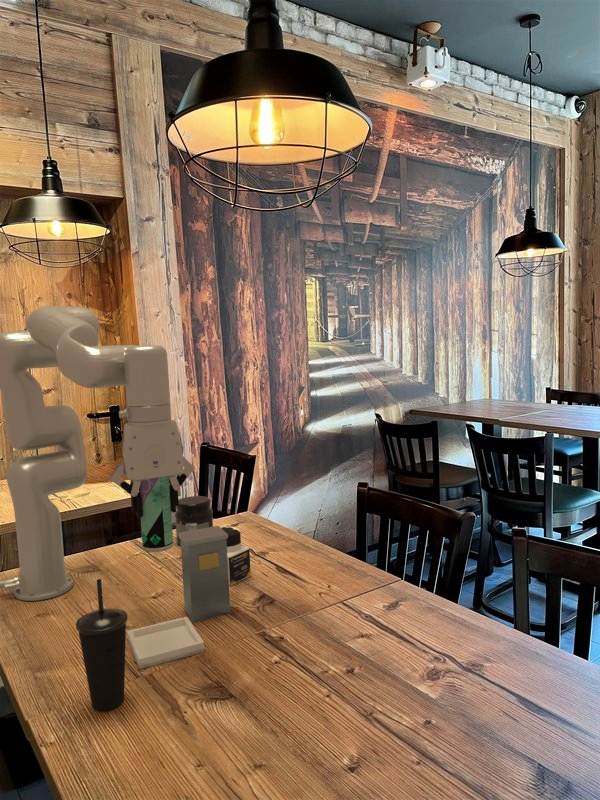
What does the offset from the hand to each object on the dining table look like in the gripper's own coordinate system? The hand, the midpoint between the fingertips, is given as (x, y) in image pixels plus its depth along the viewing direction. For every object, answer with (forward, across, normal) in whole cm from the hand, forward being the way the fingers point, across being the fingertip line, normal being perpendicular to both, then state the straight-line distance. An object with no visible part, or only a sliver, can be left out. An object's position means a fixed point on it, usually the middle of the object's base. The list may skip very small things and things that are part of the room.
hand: (155, 512), depth 108 cm
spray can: (+7, 0, 0) cm, 7 cm away
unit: (+25, +11, +9) cm, 29 cm away
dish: (+25, 0, 0) cm, 25 cm away
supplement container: (+26, +21, +54) cm, 63 cm away
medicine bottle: (+26, +21, +24) cm, 41 cm away
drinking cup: (+26, -12, -13) cm, 31 cm away
